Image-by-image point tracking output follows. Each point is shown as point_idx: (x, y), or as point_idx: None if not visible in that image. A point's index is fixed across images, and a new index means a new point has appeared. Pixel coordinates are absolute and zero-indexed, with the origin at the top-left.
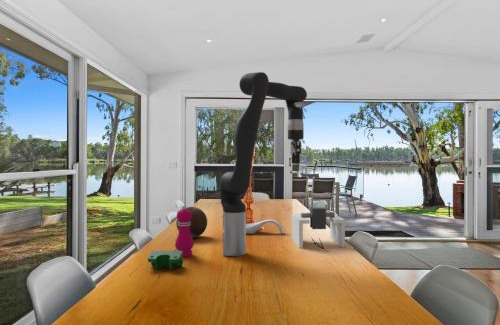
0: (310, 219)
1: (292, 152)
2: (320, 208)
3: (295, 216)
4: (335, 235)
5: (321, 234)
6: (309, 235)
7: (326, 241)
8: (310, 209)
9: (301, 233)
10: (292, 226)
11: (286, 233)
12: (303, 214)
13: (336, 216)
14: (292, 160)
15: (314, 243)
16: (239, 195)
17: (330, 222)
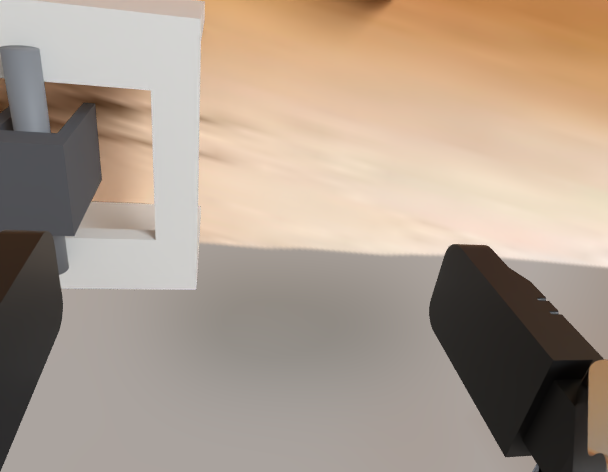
0: (73, 117)
1: (580, 459)
2: (8, 205)
3: (66, 9)
4: (101, 217)
5: (303, 193)
6: (290, 129)
7: (137, 170)
8: (53, 140)
9: None
10: (188, 7)
11: (370, 14)
12: (2, 62)
13: (74, 276)
14: (473, 279)
15: (89, 97)
16: None
17: (197, 246)
